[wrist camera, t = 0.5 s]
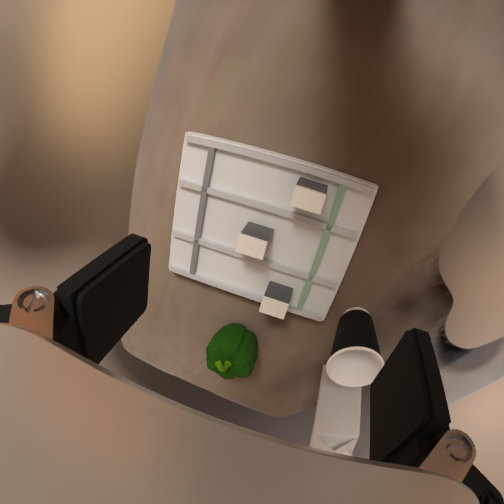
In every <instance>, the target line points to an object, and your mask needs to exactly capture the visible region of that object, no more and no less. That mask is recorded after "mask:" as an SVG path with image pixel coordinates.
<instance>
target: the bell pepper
mask: <svg viewBox="0 0 504 504" xmlns="http://www.w3.org/2000/svg"><path fill="white" fill-rule="evenodd" d="M257 350H258V348H257V340H256V337H255V334H254V333H252V332H251V331H250V330H246V328H245V327H244V326H242V325H241V324H235V323H232V324H228V325H226V326H224V327H223V328H221V329H220V330H219V331H218V332H217V333H216V334H215V335H214V336H213V338H212V339H211V341H210V343H209V345H208V347H207V348H206V355H207V357H206V358H207V367H208V368H209V369H210V370H212V371H214V372H216V373H217V374H218V375H220V376H221V377H222V378H223V379H233V378H234V377H235V376H238V377H248V376H249V375H250V374H251V372H252V370H253V368H254V365H255V362H256V359H257Z"/></svg>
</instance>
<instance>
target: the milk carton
mask: <svg viewBox="0 0 504 504" xmlns="http://www.w3.org/2000/svg"><path fill="white" fill-rule="evenodd" d="M360 414H361V387H345V386H341V385H339V384H337V383H335V382H334V381H332V380H331V379H330V378H329V376H328V375H327V372H326V365H325V364H324V365H323V369H322V375H321V380H320V386H319V392H318V399H317V405H316V411H315V417H314V423H313V429H312V435H311V440H310V445H309V447H313V448H317V449H321V450H325V451H330V452H334V453H339V454H344V455H349V456H353V454H352V451H353V449H354V447H355V445H356V442H357V440H358V438H359V432H360Z"/></svg>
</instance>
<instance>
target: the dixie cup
mask: <svg viewBox="0 0 504 504" xmlns="http://www.w3.org/2000/svg"><path fill="white" fill-rule="evenodd" d="M383 366H384V361H383V358H382V357H381V354H380V350H379V345H378V341H377V337H376V332H375V328H374V324H373V320H372V317H371V316H370V314H369V312H368V311H367V310H365V309H363V308H361V307H352V308H349V309H347V310H346V311H345V312H344V313H343V314H342V316H341V318H340V320H339V324H338V328H337V332H336V336H335V340H334V344H333V348H332V352H331V356H330V358H329V360H328V361H327V364H326V372H327V375H328V376H329V378H330V379H331V380H332V381H334V382H335V383H337V384H339V385H341V386H345V387H362V386H366V385H369V384H371V383H372V382H373V380H374V379H375V377H376V376H377V374H378V373H379V372H380V370H381V369H382V367H383Z"/></svg>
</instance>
